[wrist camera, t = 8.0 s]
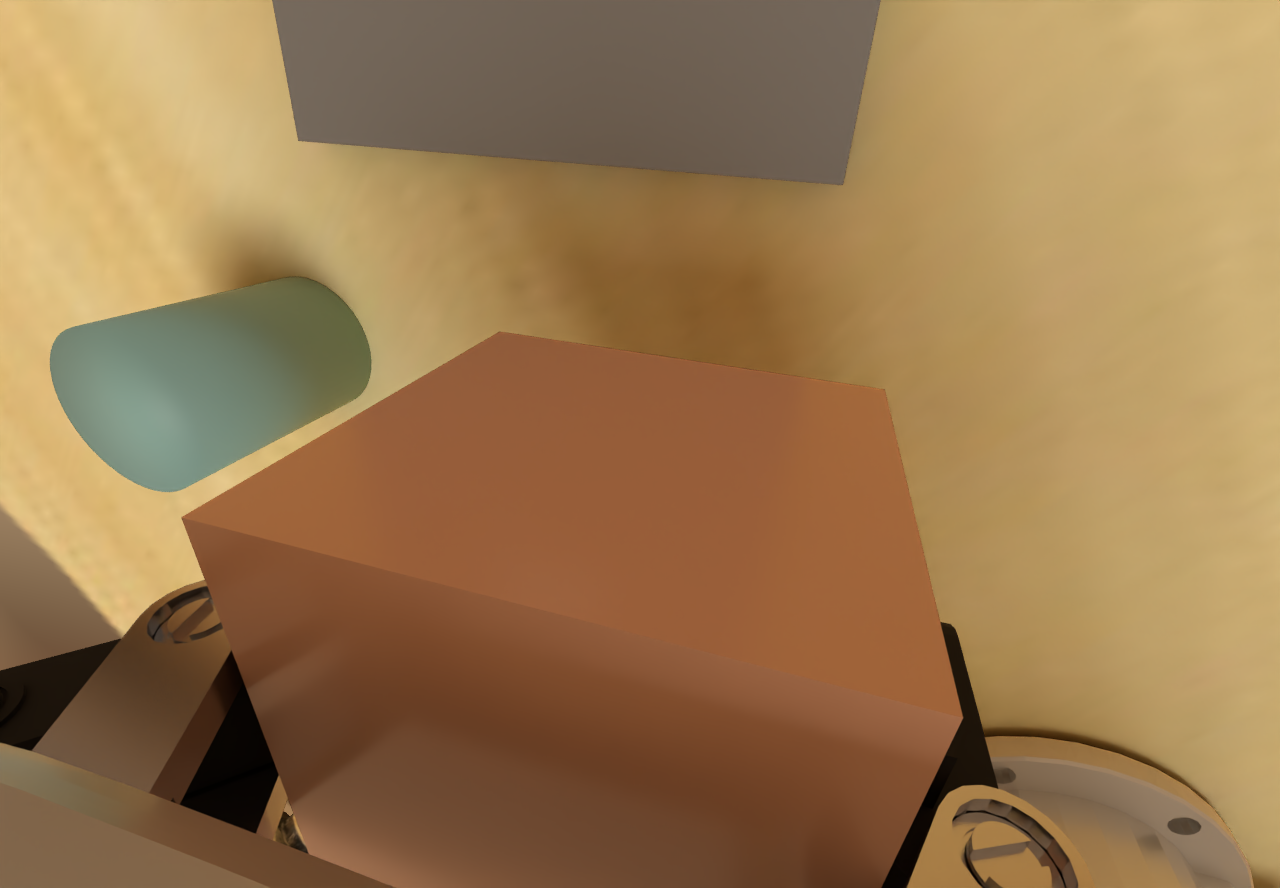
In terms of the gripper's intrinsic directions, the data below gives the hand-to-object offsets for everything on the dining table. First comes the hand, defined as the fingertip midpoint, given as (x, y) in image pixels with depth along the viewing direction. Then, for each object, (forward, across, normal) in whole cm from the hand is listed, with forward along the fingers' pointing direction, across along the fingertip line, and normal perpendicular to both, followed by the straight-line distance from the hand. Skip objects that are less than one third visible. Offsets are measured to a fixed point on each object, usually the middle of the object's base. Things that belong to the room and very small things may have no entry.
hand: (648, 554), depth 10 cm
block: (+1, 0, 0) cm, 1 cm away
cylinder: (+10, +16, +1) cm, 18 cm away
